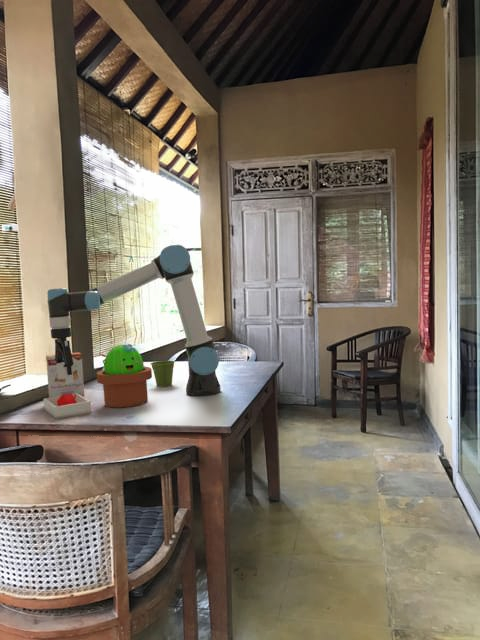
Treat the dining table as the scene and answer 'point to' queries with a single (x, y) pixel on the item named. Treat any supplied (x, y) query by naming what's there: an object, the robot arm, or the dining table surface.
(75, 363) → the cracker box
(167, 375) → the plant pot
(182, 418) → the dining table surface
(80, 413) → the box
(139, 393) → the potted cactus
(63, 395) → the apple
